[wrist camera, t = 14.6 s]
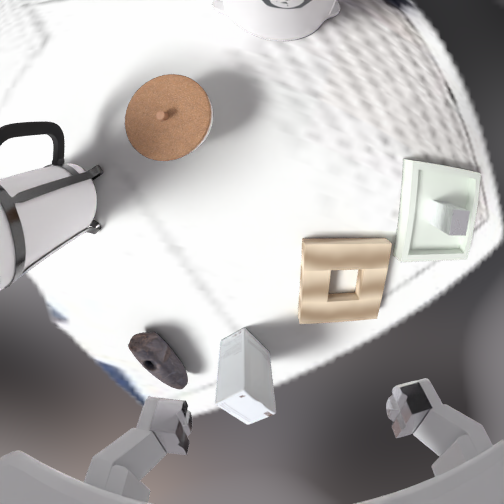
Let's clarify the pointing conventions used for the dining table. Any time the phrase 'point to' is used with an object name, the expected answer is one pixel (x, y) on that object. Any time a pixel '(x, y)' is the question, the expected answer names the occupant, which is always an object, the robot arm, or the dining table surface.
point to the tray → (419, 208)
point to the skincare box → (245, 378)
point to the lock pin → (449, 217)
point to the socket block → (342, 258)
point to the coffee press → (43, 205)
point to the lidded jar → (168, 117)
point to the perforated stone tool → (158, 359)
